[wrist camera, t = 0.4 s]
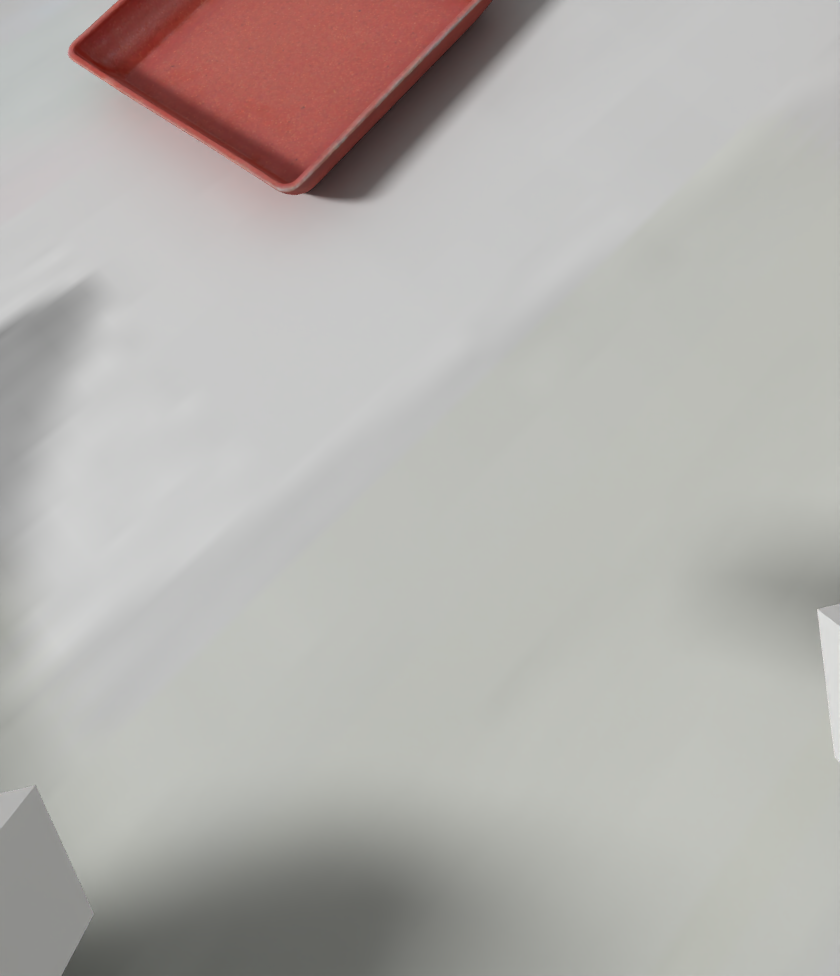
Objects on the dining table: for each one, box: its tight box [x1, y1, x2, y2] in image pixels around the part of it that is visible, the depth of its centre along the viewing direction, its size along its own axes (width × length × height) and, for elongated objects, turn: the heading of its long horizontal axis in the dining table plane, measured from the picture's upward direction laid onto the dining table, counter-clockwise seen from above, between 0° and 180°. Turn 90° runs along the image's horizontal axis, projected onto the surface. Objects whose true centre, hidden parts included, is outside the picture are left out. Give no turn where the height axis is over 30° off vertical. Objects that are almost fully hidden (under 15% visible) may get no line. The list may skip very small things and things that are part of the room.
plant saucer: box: [68, 0, 492, 195], centre depth 39 cm, size 18×18×3 cm
